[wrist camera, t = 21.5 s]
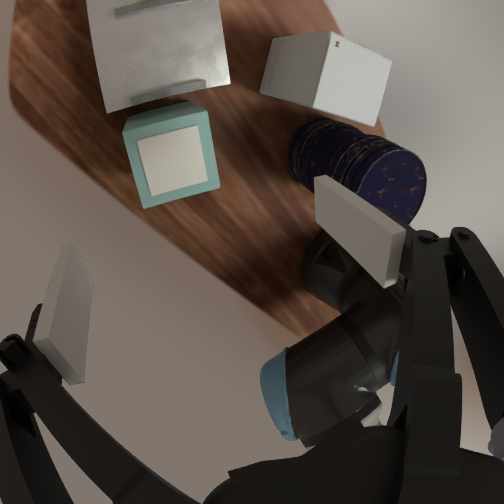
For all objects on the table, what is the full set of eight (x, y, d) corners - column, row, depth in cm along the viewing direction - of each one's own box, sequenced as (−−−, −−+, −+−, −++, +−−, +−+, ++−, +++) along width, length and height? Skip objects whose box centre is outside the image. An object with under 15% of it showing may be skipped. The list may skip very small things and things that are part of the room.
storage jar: (287, 115, 36) (362, 146, 24) (353, 117, 38) (435, 149, 26) (283, 189, 41) (346, 248, 29) (345, 184, 44) (415, 234, 32)
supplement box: (257, 94, 33) (309, 107, 23) (271, 36, 30) (331, 27, 20) (311, 108, 36) (375, 129, 26) (325, 55, 32) (395, 59, 22)
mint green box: (200, 157, 35) (221, 188, 27) (142, 173, 34) (143, 209, 26) (190, 100, 31) (207, 111, 23) (128, 116, 30) (121, 133, 22)
